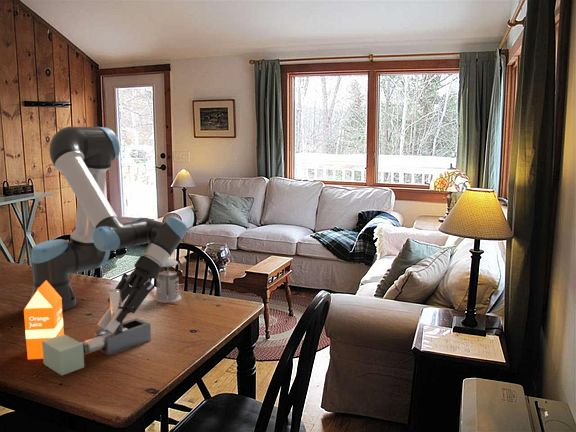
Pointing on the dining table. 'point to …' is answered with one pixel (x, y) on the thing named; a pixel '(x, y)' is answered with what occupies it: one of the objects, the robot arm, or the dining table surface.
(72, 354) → the grey-green block
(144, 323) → the gray open box
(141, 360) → the dining table surface
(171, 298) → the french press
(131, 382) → the dining table surface
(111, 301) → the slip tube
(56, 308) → the orange juice
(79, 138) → the robot arm
